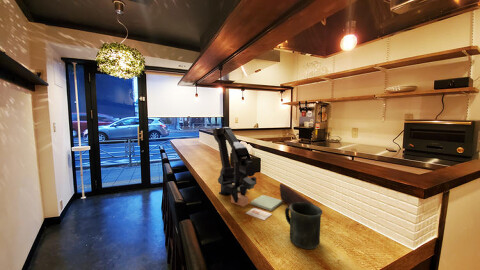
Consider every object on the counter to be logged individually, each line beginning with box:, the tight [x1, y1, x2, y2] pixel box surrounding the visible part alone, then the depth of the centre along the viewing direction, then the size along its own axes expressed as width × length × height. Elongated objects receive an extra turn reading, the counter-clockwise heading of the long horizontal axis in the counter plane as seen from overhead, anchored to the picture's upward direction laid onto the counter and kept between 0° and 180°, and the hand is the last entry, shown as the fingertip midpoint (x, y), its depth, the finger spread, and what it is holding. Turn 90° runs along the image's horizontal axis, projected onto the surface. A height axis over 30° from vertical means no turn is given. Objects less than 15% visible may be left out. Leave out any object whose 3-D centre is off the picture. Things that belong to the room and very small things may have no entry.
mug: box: [284, 202, 323, 250], centre depth 72 cm, size 11×15×12 cm
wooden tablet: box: [279, 182, 315, 206], centre depth 94 cm, size 26×2×10 cm, turn 21°
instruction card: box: [245, 207, 273, 221], centre depth 91 cm, size 10×7×1 cm
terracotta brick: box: [230, 193, 249, 208], centre depth 102 cm, size 8×4×4 cm, turn 54°
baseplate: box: [249, 194, 283, 212], centre depth 102 cm, size 12×12×1 cm
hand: (239, 201), depth 102 cm, fingers open, 5 cm apart
